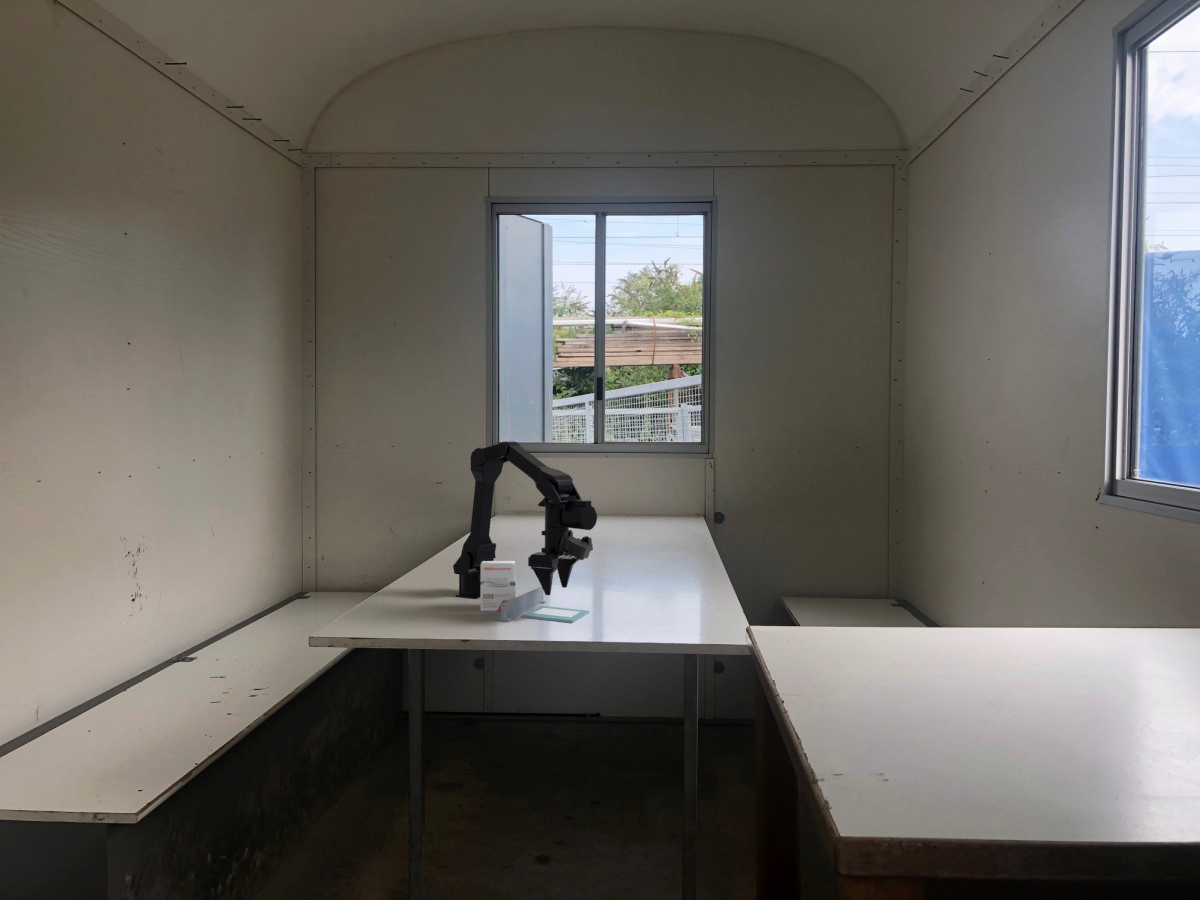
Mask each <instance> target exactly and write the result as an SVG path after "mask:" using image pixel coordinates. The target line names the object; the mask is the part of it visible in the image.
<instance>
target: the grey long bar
mask: <svg viewBox="0 0 1200 900" xmlns="http://www.w3.org/2000/svg"><path fill="white" fill-rule="evenodd" d="M546 603H547V601H546V600H544V590H543V588H542V586H538V587H537V588H535V589H531V590H530V591H528V592H525V593H522V594H521V595H518V596H515V598H513V599H511V600H509V601H506V602H504V603H502V604H501V611H500V616H499V617H497V621H499V622H511V621H512V619H513V618H515V617H517V616H519V615H521V614H524V613H526V612H528V611H529V610H531V609H532V608H533V609H534V607H536V606H538V605H540V604H543V605H544V604H546Z"/></svg>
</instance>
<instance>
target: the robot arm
mask: <svg viewBox="0 0 1200 900" xmlns="http://www.w3.org/2000/svg"><path fill="white" fill-rule="evenodd" d="M508 462H509V463H511V464H512V465H513V466H514V467H516V468H517V469H518V470H520V471H521V472H522V473H523V474H525V475H527V476H528V477H529V478H530V479H532V481H533V482H534V484H535V488H536V489H537V490H538V492H539V493H540V494H541V495H542V496H543V499H542V500H541V501H540V502H539V503H538V504H537V506H538V507H543V508H544V530H541V536H544V547H541V552H540V551H539V552H538V551H537V552H534V553H531V554H530V555H529V556H528V558H527V565H528V567H530V570H533V572H534V574H535V576H536V577H537V580H538V581H539V583H540V587H542V588H543V593H544V594H545V596H551V594H552V588H553V587H552V586H553V580H554V579H553V578H554V573H555V572H556V571H557V574H558V577H559V580H560V584H561V588H567V587H568V584H569V579H570V577H571V573H572V571H573V568H574V565H575V564H576V563H578V562H579V561H583V560H585V559H589V556H590V554H591V551H593V550H594V547H593V540H592V537H590V536H588V535H586V536H583V537H582V538H580V537H578V538H577V537H575V536H574V532H573V530H572V529H574V530H575V529H576V530H585V531H591V530H592V529H594V527H595V526H596V524H597V521H598V514H597V511H596V509H595V507H594V506H592V500H590V499H589V500H588V499H587V500H583V498H582V497H581V495H580V493H579V491H578V490H577V488H576V486H575V485H574V483H573V481H574V480H573V478H572V476H570V474H568V473H567V472H564V471H561V470H560V469H557V468H556V469H555V468H553V467H549V466H548V465H546V464H545V463H544V462H542V461H541V460H540V459H538V458H537V457H536V456H534V455H533V454H531V453H530V452H529V451H528V450H526V449H524V448H523V447H522V446H521V445H520V443H519V442H518V441H515V440H513V441H510V440H509V441H508V440H507V441H501V442H500V443H499V442H498V443H497V444H495V445H490V446H487V447H476V448H475V449H474V450H473V451H471V454H470V471H471V474H472V476H473V478H474V480H475V484H474V491H473V492H474V493H473V501H472V502H473V503H472V513H471V514H472V515H471V523H470V531H469V535H468V537H467V538H466V540H465V541H464V543H463V544H462V548H461V551H460V552H461V553H460V556H459V558H458V559H457V560H456V561H455V563H453V565H452V569H453V573H454V574H455V575H458V593H456V594H455V597H456V598H465V599H474V600H475V599H480V578H481V562H482V561H495V560H494V559H496V550H497V543H495V542H493V540H492V539H491V537H490V531H491V530H490V529H491V522H492V521H491V519H492V513H493V512H492V511H493V501H494V492H495V484H496V483H495V482H496V481H497V480H498V478H499V477H500V475H501V474H502V471H503V466H504V464H505V463H508Z"/></svg>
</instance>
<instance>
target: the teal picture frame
mask: <svg viewBox="0 0 1200 900" xmlns="http://www.w3.org/2000/svg"><path fill="white" fill-rule="evenodd" d="M589 614H590V610H586V609H577V608H566V607H557V606H547V605H540V606H538V607H536V608H533V609H532V610H531V609H530V611H529V610H528V611H526V612H524V613H522V615H521V616H522V618H526V619H534V620H542V621H552V622H559V623H569V624H573V623H575V622H577V621H578V620H580V619H582V618H584V617H586V616H587V615H589Z"/></svg>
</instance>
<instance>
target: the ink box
mask: <svg viewBox="0 0 1200 900" xmlns="http://www.w3.org/2000/svg"><path fill="white" fill-rule="evenodd" d="M513 598H516V561H515V560H493V561H482V562H481V578H480V598H479V600H480V601H479V602H480V603H479V604H480V606H479V609H480V611H481V612H498V611H499V612H501V604H502V603H504V602H506V601H509V600H511V599H513Z"/></svg>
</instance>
